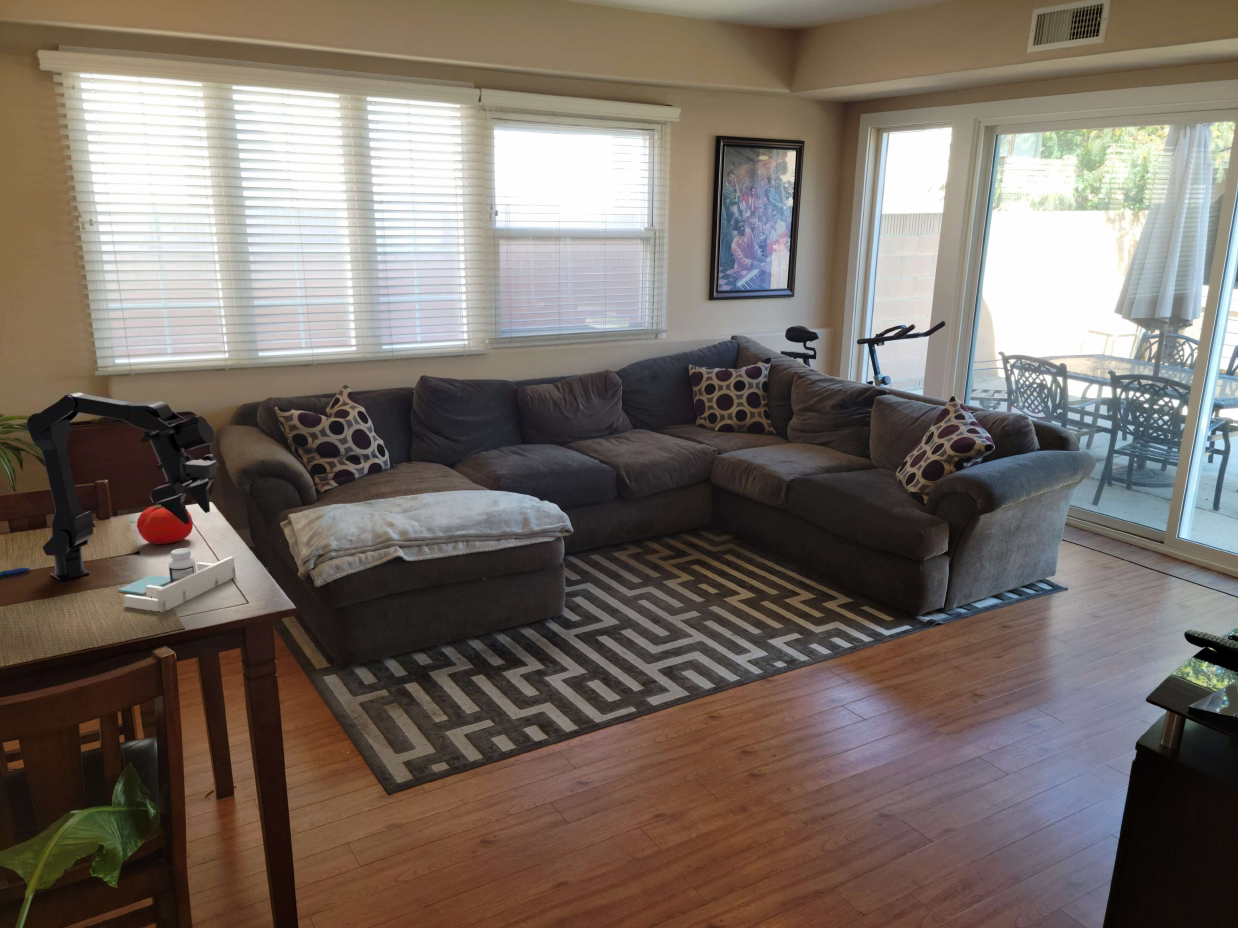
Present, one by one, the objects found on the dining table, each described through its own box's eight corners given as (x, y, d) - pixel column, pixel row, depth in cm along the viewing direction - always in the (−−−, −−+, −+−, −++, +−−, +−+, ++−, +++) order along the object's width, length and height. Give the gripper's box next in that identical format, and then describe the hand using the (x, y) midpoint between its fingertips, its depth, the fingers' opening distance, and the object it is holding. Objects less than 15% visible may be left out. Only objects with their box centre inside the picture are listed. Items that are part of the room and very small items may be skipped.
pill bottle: (177, 587, 207) (173, 547, 205) (201, 586, 208) (197, 546, 205) (167, 595, 202) (163, 554, 200) (192, 595, 202) (188, 554, 200)
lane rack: (125, 606, 195) (122, 585, 194) (200, 571, 217) (199, 552, 216) (162, 612, 193) (160, 590, 192) (235, 576, 214) (233, 556, 213)
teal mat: (118, 591, 204) (117, 589, 204) (151, 576, 213) (151, 574, 213) (143, 595, 202) (143, 593, 202) (176, 580, 211) (175, 578, 211)
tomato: (190, 532, 247) (186, 495, 244) (198, 544, 237) (194, 506, 234) (135, 540, 239) (131, 502, 237) (141, 553, 229) (137, 513, 227)
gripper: (181, 454, 196) (209, 520, 199) (222, 437, 214) (247, 497, 217) (136, 468, 197) (164, 533, 200) (180, 450, 215) (205, 510, 218)
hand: (198, 518), depth 209 cm, fingers open, 9 cm apart
